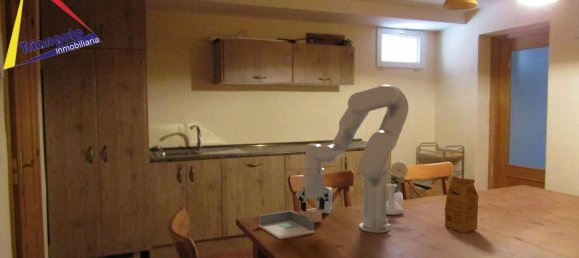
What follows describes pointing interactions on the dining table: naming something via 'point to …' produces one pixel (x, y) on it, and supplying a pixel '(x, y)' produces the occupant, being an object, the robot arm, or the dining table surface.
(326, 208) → the light bulb box
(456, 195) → the coffee package
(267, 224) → the tray
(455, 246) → the dining table surface
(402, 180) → the flower in vase
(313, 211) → the cube
